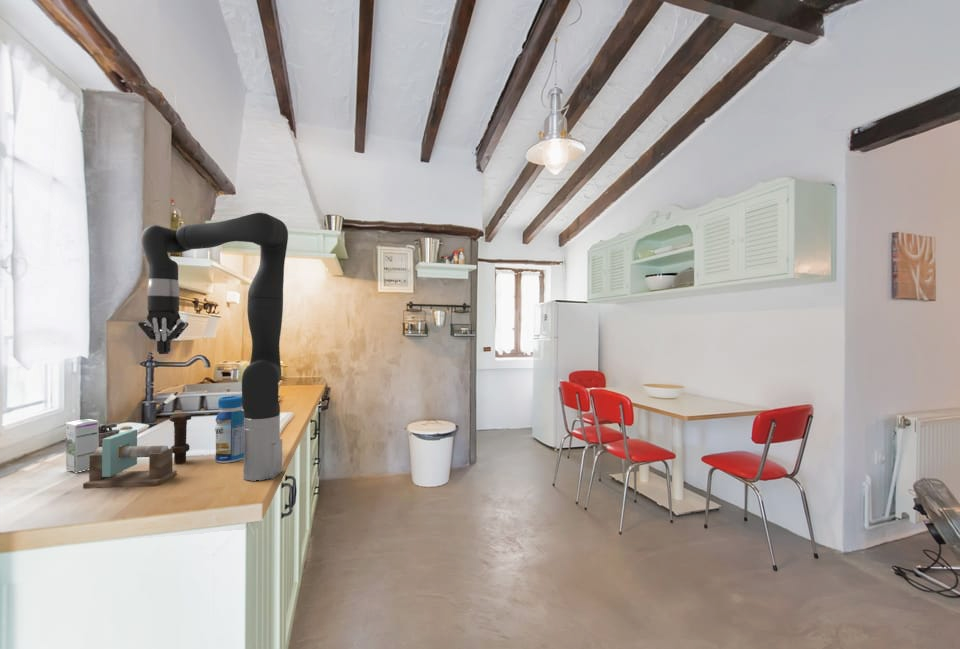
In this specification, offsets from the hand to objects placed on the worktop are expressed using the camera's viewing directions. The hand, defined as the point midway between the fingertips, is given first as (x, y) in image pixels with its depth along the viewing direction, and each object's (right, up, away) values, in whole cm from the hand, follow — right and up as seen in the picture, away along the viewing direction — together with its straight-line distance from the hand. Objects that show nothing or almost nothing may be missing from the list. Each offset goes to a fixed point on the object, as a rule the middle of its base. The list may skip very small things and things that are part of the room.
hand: (163, 353), depth 124 cm
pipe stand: (-3, -35, -7) cm, 36 cm away
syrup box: (-25, -35, +1) cm, 43 cm away
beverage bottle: (+13, -35, +11) cm, 39 cm away
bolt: (-1, -35, +8) cm, 36 cm away
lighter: (-32, -35, +16) cm, 50 cm away
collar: (-6, -32, -8) cm, 33 cm away
